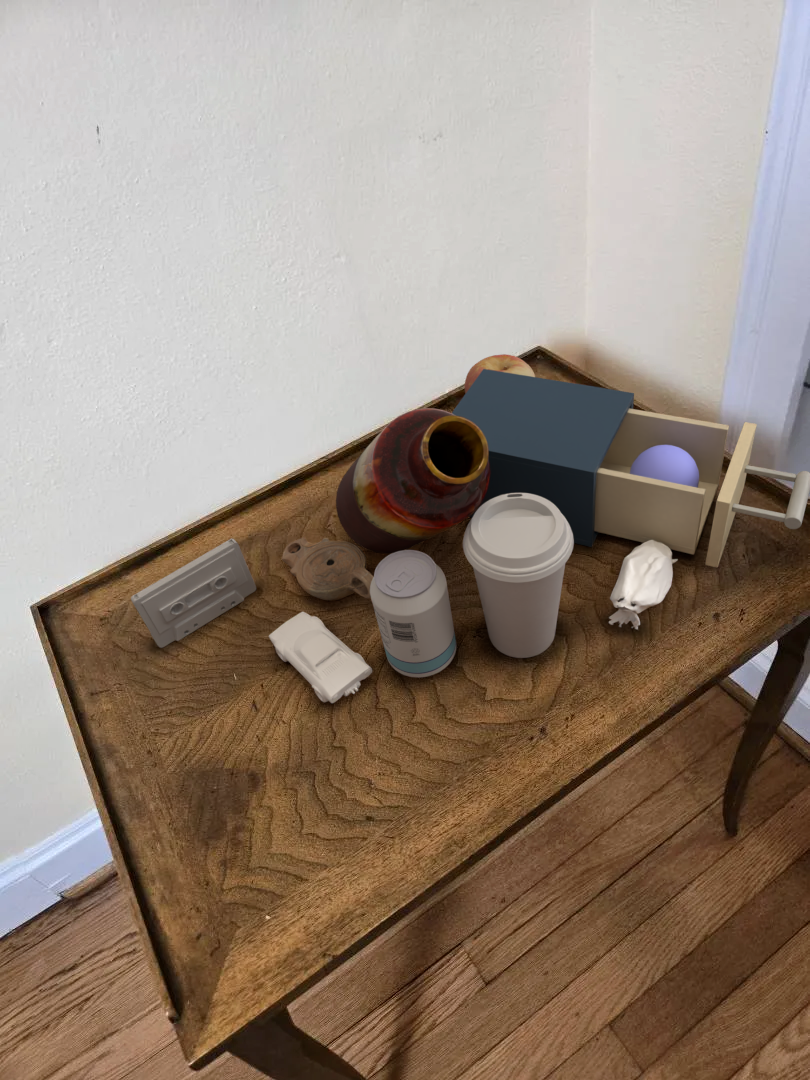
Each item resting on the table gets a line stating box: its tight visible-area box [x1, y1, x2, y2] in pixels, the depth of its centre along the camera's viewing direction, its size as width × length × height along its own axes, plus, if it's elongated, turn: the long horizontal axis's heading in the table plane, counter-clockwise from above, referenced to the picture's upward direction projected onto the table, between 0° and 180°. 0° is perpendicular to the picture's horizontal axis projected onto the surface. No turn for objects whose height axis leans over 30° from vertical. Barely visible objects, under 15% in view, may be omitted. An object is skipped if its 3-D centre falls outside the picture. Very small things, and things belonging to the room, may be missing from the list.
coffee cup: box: [462, 493, 575, 659], centre depth 74 cm, size 10×10×15 cm
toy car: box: [268, 611, 373, 704], centre depth 79 cm, size 6×12×3 cm, turn 41°
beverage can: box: [370, 549, 457, 678], centre depth 75 cm, size 7×7×12 cm
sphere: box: [630, 445, 699, 488], centre depth 83 cm, size 7×7×7 cm
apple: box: [464, 353, 536, 395], centre depth 101 cm, size 9×9×8 cm
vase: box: [335, 407, 490, 555], centre depth 78 cm, size 11×11×26 cm
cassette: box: [130, 538, 257, 649], centre depth 84 cm, size 12×2×8 cm, turn 127°
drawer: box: [594, 408, 810, 568], centre depth 83 cm, size 23×12×9 cm, turn 63°
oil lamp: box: [281, 536, 374, 601], centre depth 85 cm, size 13×8×5 cm, turn 47°
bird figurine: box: [608, 540, 679, 631], centre depth 78 cm, size 5×7×10 cm
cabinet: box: [451, 369, 635, 548], centre depth 89 cm, size 18×14×11 cm
